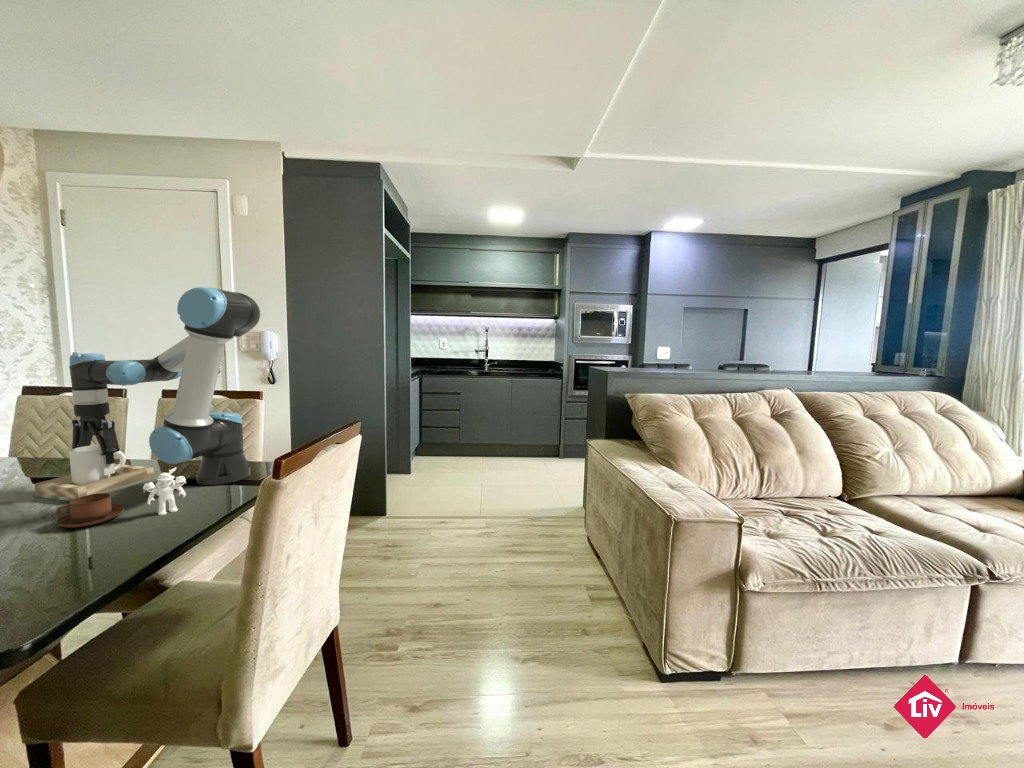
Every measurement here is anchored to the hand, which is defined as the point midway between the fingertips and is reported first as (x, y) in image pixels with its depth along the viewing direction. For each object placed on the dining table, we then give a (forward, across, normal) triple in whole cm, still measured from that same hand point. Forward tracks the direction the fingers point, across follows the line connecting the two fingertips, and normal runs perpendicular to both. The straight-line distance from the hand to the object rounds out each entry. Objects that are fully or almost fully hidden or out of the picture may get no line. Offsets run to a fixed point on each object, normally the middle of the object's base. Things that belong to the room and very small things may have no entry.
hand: (98, 472), depth 123 cm
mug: (+2, -1, 0) cm, 2 cm away
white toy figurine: (+5, -39, +9) cm, 41 cm away
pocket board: (+5, 0, 0) cm, 5 cm away
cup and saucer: (+5, -26, +18) cm, 32 cm away
